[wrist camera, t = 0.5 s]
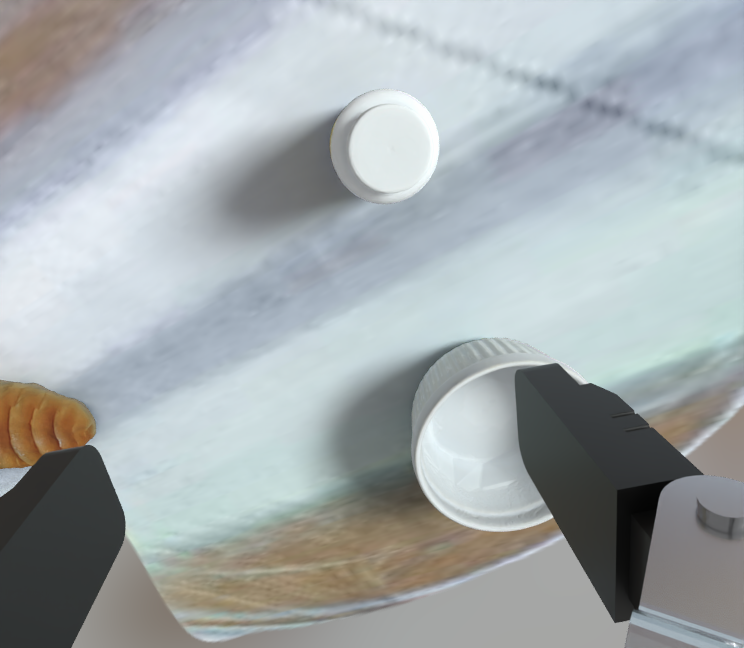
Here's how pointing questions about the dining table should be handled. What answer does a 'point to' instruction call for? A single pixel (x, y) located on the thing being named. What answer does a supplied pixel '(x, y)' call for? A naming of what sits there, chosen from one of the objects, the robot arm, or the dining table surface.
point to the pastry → (39, 423)
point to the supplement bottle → (384, 146)
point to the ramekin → (477, 436)
